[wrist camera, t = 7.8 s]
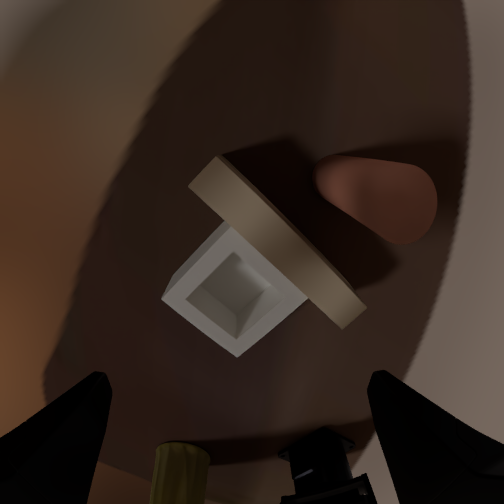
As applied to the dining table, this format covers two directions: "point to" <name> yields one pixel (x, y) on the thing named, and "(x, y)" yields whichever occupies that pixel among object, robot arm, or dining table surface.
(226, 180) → the backstop
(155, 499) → the olive ribbed cylinder
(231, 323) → the socket block
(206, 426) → the dining table surface
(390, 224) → the peg
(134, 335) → the dining table surface
